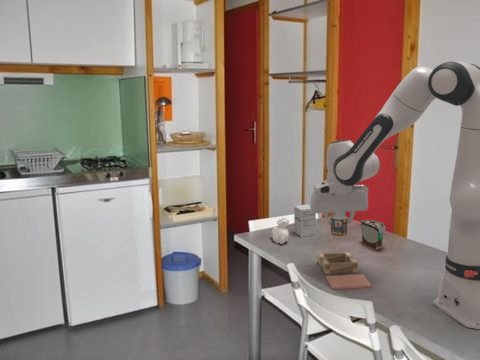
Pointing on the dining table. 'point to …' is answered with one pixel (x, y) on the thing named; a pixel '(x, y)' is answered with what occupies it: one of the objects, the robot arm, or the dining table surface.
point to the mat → (348, 281)
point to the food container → (372, 234)
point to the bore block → (337, 262)
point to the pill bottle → (339, 224)
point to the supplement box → (304, 221)
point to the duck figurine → (280, 231)
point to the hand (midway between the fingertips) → (339, 223)
